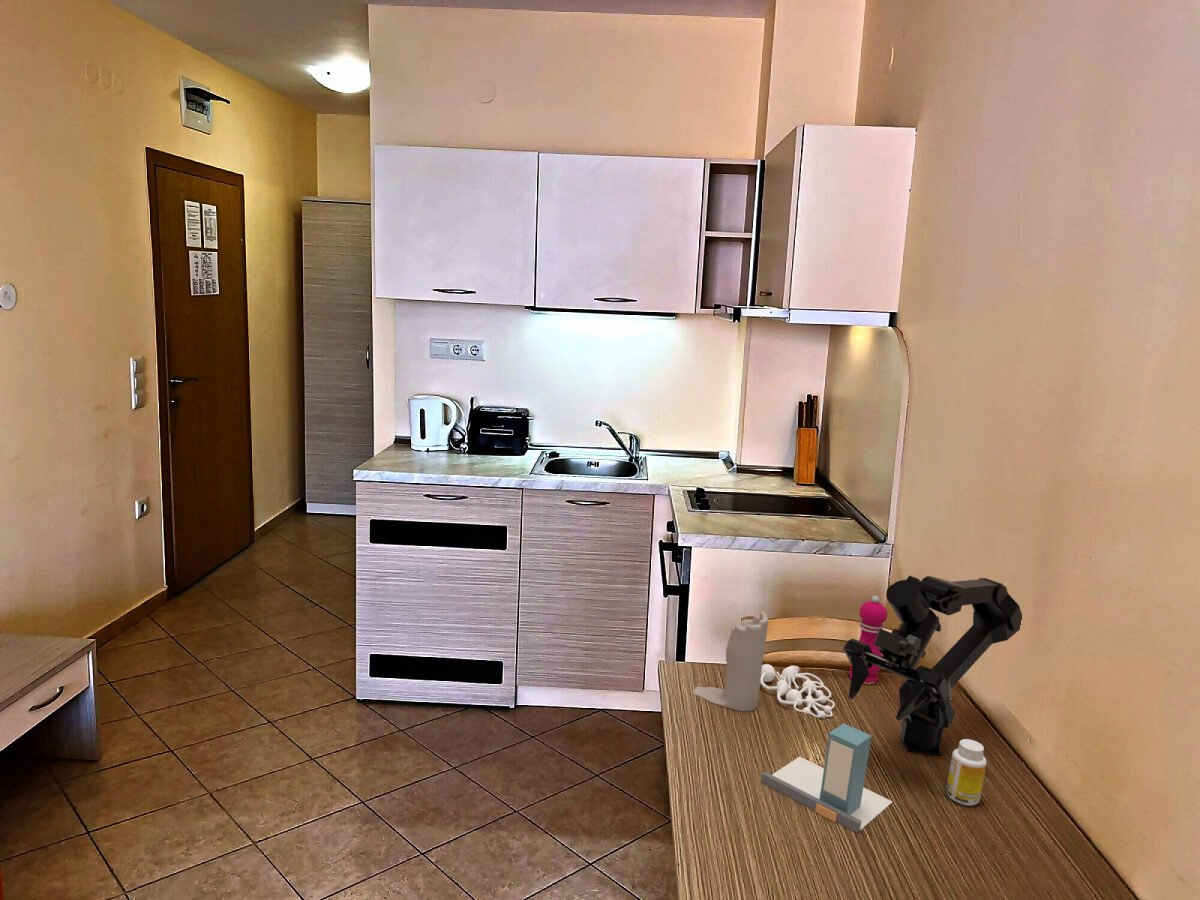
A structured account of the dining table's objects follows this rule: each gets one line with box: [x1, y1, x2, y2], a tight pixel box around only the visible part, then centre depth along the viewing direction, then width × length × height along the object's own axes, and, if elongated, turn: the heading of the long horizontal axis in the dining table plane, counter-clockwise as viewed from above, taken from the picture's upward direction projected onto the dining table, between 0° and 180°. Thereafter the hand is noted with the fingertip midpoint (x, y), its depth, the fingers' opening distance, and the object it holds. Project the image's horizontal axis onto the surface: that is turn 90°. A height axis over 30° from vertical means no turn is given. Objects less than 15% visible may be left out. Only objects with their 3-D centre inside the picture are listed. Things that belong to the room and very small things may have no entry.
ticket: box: [814, 803, 837, 823], centre depth 141 cm, size 1×4×2 cm, turn 46°
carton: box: [820, 723, 872, 815], centre depth 143 cm, size 5×5×13 cm
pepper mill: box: [848, 595, 888, 683], centre depth 195 cm, size 7×7×20 cm
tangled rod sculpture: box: [760, 663, 836, 720], centre depth 185 cm, size 19×14×4 cm
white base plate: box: [760, 756, 893, 833], centre depth 148 cm, size 13×18×3 cm
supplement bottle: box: [945, 738, 987, 807], centre depth 152 cm, size 6×6×10 cm
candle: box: [692, 611, 769, 712], centre depth 180 cm, size 7×14×20 cm, turn 65°
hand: (873, 708), depth 153 cm, fingers open, 9 cm apart
